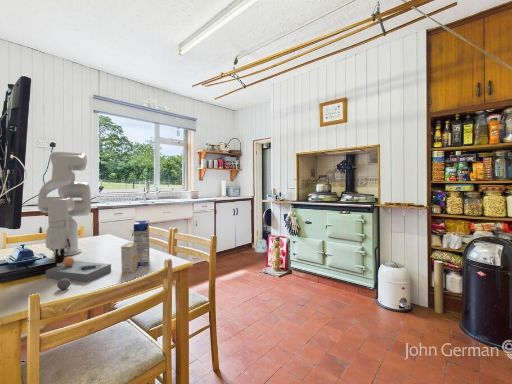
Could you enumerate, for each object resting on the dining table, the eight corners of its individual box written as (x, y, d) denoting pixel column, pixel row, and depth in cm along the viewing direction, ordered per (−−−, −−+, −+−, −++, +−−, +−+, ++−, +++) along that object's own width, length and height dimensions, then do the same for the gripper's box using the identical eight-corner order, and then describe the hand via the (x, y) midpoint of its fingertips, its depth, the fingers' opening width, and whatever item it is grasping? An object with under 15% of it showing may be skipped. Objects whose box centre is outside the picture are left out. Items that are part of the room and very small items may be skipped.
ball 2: (54, 290, 105) (54, 280, 105) (64, 286, 110) (64, 276, 109) (63, 291, 104) (63, 281, 104) (73, 287, 109) (73, 277, 108)
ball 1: (60, 267, 123) (60, 257, 122) (69, 264, 127) (68, 255, 127) (68, 268, 122) (68, 258, 122) (76, 265, 126) (76, 255, 126)
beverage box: (134, 267, 134) (133, 224, 132) (135, 261, 144) (135, 220, 143) (148, 265, 136) (148, 223, 135) (149, 259, 146) (148, 220, 145)
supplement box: (128, 267, 133) (127, 242, 132) (137, 267, 133) (137, 242, 133) (121, 273, 125) (120, 246, 124) (131, 273, 125) (131, 246, 124)
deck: (45, 277, 119) (45, 270, 119) (73, 267, 132) (73, 260, 132) (86, 282, 114) (86, 274, 114) (111, 271, 128) (110, 264, 128)
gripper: (37, 225, 122) (39, 264, 123) (64, 226, 119) (65, 266, 120) (53, 222, 130) (54, 259, 131) (78, 223, 126) (79, 261, 127)
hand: (59, 262), depth 125 cm, fingers closed
